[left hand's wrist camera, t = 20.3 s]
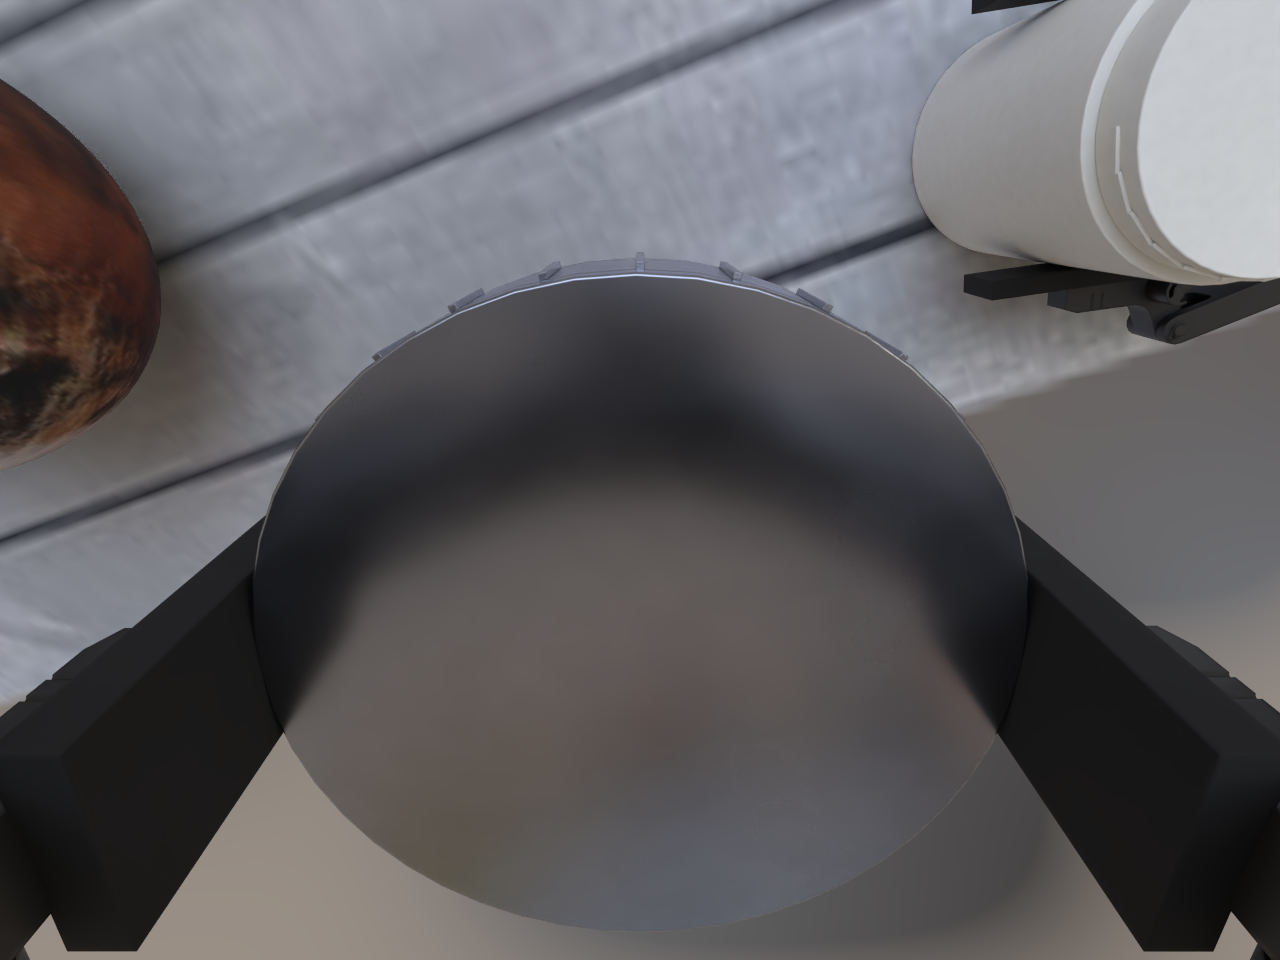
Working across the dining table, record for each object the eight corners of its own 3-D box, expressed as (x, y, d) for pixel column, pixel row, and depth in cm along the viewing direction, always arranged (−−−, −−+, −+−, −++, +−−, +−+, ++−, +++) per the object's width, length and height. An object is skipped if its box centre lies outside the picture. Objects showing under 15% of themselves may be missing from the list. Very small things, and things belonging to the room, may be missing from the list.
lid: (923, 153, 10) (1000, 141, 8) (995, 764, 14) (1058, 865, 12) (192, 367, 11) (86, 407, 9) (455, 875, 15) (425, 985, 13)
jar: (953, 290, 36) (1173, 354, 21) (879, 99, 33) (1077, 18, 18) (1148, 187, 34) (1536, 179, 19) (1090, -25, 31) (1502, -230, 16)
